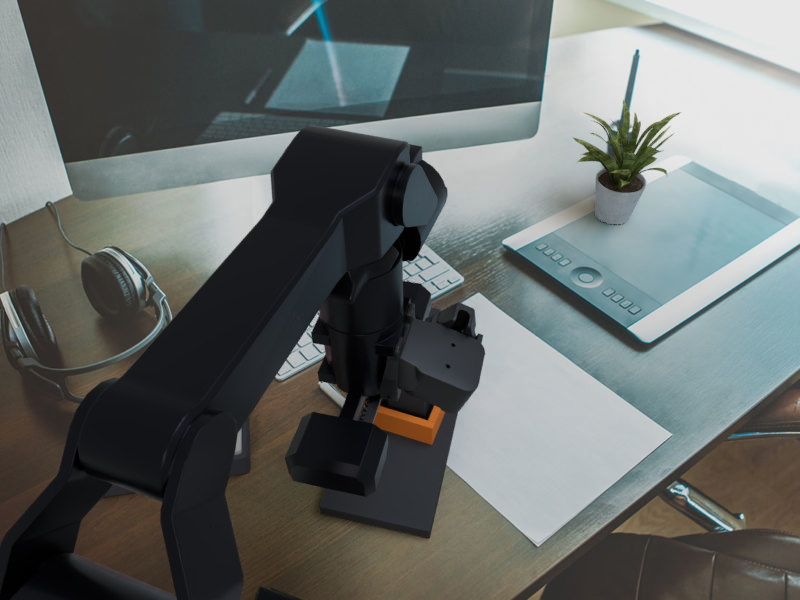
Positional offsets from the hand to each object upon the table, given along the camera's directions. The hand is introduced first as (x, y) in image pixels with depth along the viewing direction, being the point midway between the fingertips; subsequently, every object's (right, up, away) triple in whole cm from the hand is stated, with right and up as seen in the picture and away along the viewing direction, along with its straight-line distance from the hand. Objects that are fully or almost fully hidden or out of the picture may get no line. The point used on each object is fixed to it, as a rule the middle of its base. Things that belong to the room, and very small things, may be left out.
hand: (372, 436), depth 55 cm
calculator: (-21, -4, +16) cm, 27 cm away
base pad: (+2, -4, +14) cm, 15 cm away
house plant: (+35, +25, +44) cm, 62 cm away
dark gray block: (+4, 0, +17) cm, 17 cm away
